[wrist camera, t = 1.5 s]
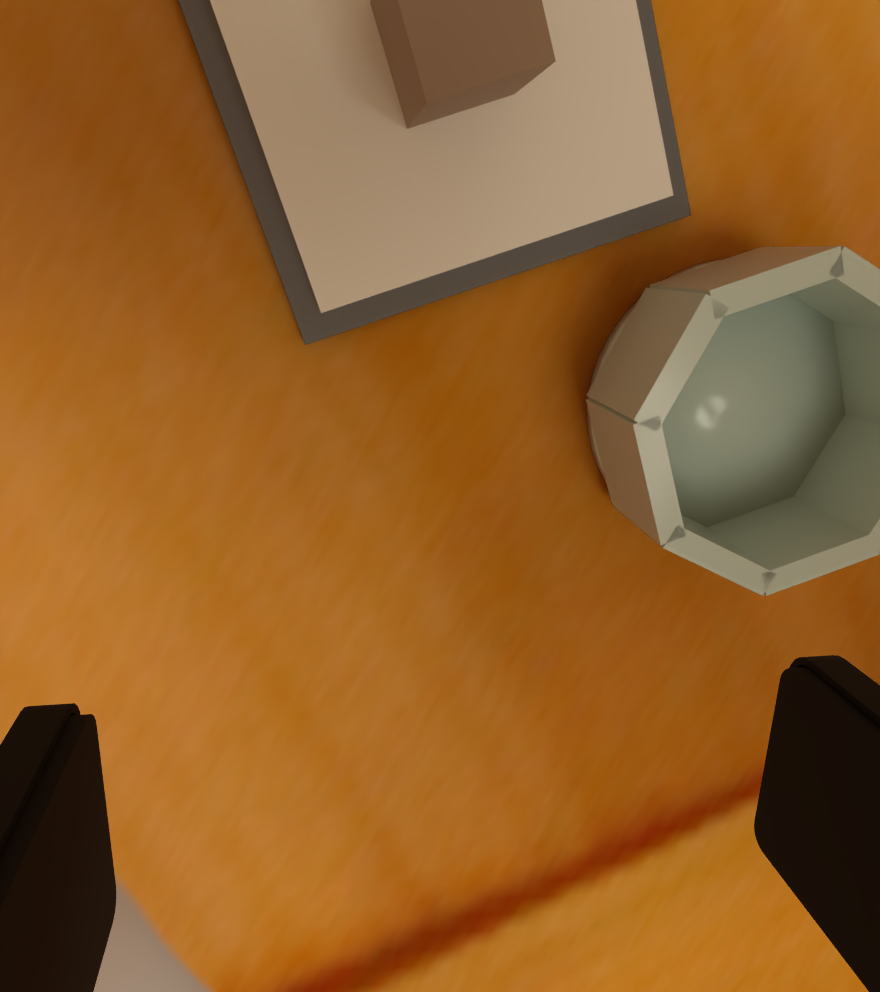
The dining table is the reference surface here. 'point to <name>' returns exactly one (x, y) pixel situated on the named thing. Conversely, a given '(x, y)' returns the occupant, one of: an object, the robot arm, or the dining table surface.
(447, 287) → the mat
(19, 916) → the robot arm
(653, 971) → the dining table surface
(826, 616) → the dining table surface
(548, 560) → the dining table surface
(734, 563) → the bowl
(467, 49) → the lid
